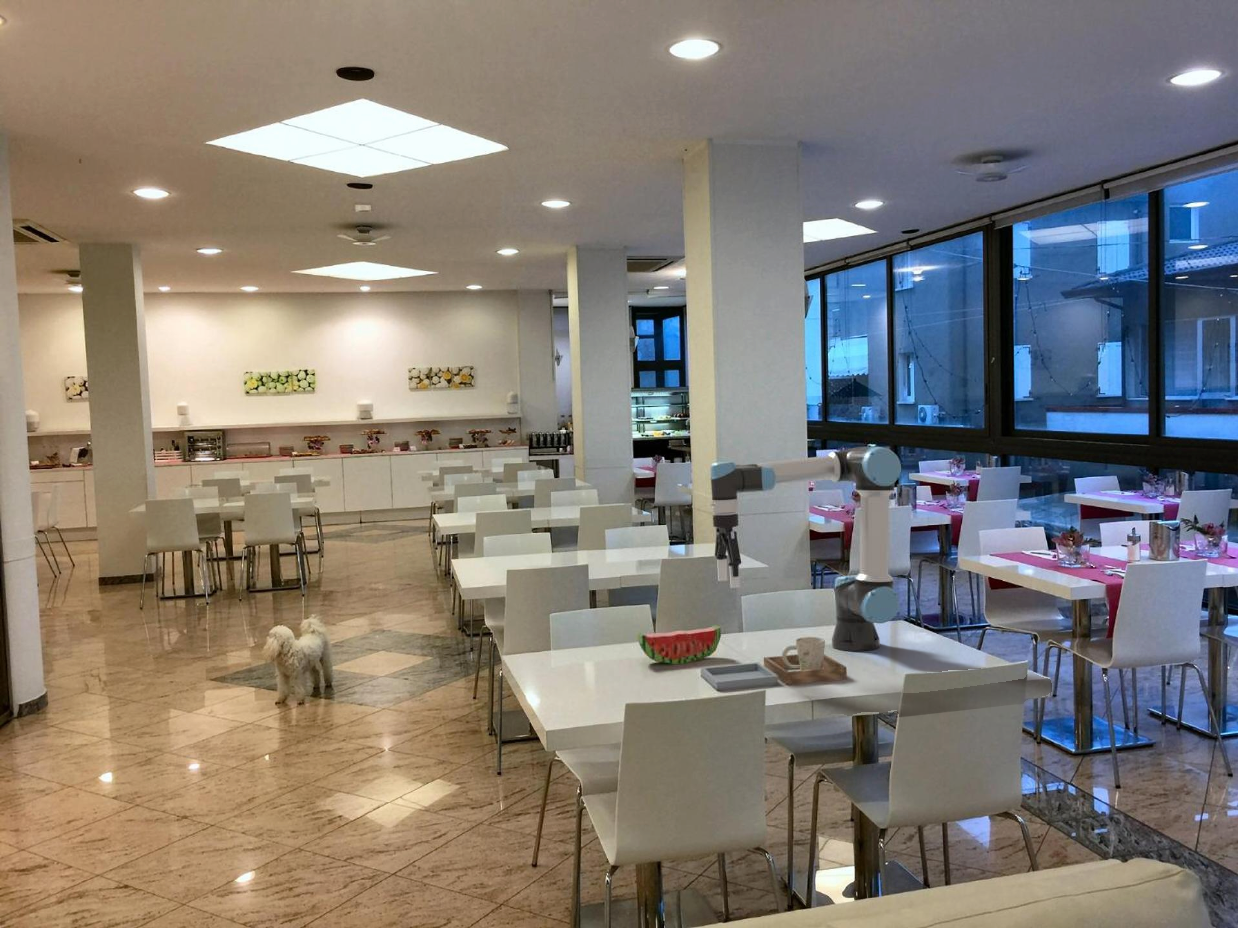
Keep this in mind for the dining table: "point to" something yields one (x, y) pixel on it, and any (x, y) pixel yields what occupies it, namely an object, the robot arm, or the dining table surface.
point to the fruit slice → (680, 645)
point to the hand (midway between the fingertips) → (728, 584)
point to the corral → (828, 673)
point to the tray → (739, 676)
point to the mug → (807, 653)
